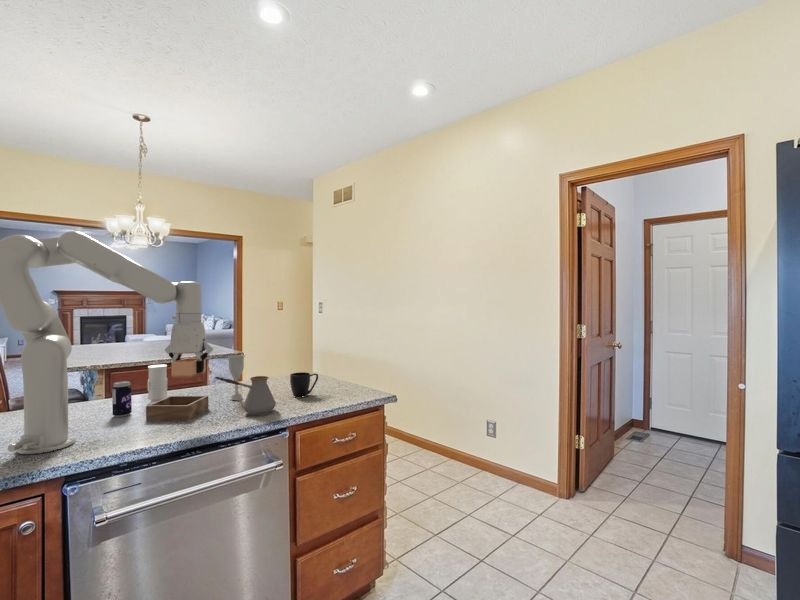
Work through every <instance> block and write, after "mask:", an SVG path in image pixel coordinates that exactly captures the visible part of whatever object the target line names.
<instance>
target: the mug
mask: <svg viewBox="0 0 800 600" xmlns="http://www.w3.org/2000/svg"><path fill="white" fill-rule="evenodd" d="M312 376H315V380H314V381H313V384H312V385H311V387H310V382H311V377H312ZM289 378H290V379H289V380H290V381H289V383H290V388H291V392H292V395H293V397H294V396H295V397H294V398H296V397H301V398H303V397H302V396H306V395H307V396H308V395H310V394H311V392H312V391H313V389H314V388H315V386H316V384H317V381H318V379H319V375H318V373H311V374H310V372H306V371H305V372H293V373H290V377H289ZM307 396H306V397H307Z"/></svg>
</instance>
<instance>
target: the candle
mask: <svg viewBox="0 0 800 600" xmlns="http://www.w3.org/2000/svg"><path fill="white" fill-rule="evenodd" d="M167 367H168V365H167V364H153V365H148V366H147V368H148V379H147V392H148V395H147V399H148V401H149V405H150V404H152V403H155V402H157V401H160V400H162V399H164V398H167V397H168V377H167V375H168V374H167Z"/></svg>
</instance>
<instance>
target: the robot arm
mask: <svg viewBox="0 0 800 600" xmlns="http://www.w3.org/2000/svg"><path fill="white" fill-rule="evenodd" d="M72 264H77V265H80V266H82V267H83V268H86V269H87V270H89V271H91V272H93V273H95V274H96V275H99V276H101V277H102V278H104V279H106V280H108V281H110V282H113V283H115V284H118V285H122V286H124V287H125V288H128V289H130V290H132V291H134V292H136V293H137V294H140V295H141V296H144V297H145V298H147V299H149V300H150V301H152V302H155V303H156V304H161V305H164V304H165V305H166V304H171V303H175V314H174V315H172V320H175V322H173V324H172V328H171V333H170V342H169V343H170V344H168V346H166V347H165V349H164V351H165V352H166V353H167V355H168V356H169V357H170V359H172V360H171V361H172V362H173V361H177V360H181V359H182V356H183V354H195V356H196V357H195V358H197V359H198V361H197V362H196V372H197V373H201V372H203V370H204V360H205V359H207V357H208V356H210V354H211V353H212V352H213V351H214V348H213V347H212V346H211V345H210V344H209V343H208V342H207V337H206V335H207V333H206V329H205V324H204V322H202V284H201V283H199V281H198V282H197V281H179V282H172V281H171V280H168V279H166V278H165V277H163V276H162V275H159V274H158V273H156V272H154V271H152V270H150V269H148V268H146V267H144V266H143V265H141V264H139V263H137V262H135V261H134V260H133V259H131V258H129V257H128V256H126V255H124V254H123V253H122V254H121V253H120V252H118V251H116V250H114V248H113V249H112V248H111V247H109V246H107V245H106V244H104V243H102V242H100V241H98V240H96V239H95V238H92V237H91V236H90V235H88V234H85V233H84V232H80V231H76V230H70V231H66V232H64V233H62V234H61V235H60V236H59V237H58V236H57V237H51V238H49V237H48V238H37V239H36V238H34V237H32V236H30V235H26V234H11V235H8V236H5V237H3V238H2V239H0V307H1V309H2V311H3V313H4V316H5V318H6V321H7V323H8V325H9V326H10V328H12V329H13V330H14V331H15V332H18V333H21V334H22V337H23V338H24V341H25V343H26V344H25V346H24V347H23V349H22V351H21V356H20V362H21V370H22V381H23V382H22V383H23V385H22V386H23V435H21V436H20V440H18V442H14V443H11V444H9V445H8V446H7V451H8V452H10V453H12V452H15V451H16V453H17V454H20V455H36V453H37V454H43V452H44V453H49V452H53V450H54V451H57V449H58V450H61V449H63V448H68V446H71V445H73V444H74V443H75V442H76V437H75V436H74V435H70V434H69V389H68V388H69V386H68V385H69V381H68V380H69V379H68V358H69V357H70V356H71V353H72V349H73V348H72V347H73V346H72V343H71V339H70V338H69V336H68V334H67V332H66V329H65V328H64V327H65V326H64V324H63V323H62V321H61V319H60V317H59V315H58V312H57V311H56V310H55V308H54V307H53V305H51V304H50V303H49V302H46V301H44V300H43V298H42V296H41V294H40V293H39V291H38V288H37V286H36V283H35V282H34V280H33V277H32V276H31V274H30V270H29V269H38V268H46V267H47V268H48V267H53V266H54V267H55V266H56V267H57V266H64V265H72Z"/></svg>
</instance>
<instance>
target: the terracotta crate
mask: <svg viewBox="0 0 800 600" xmlns="http://www.w3.org/2000/svg"><path fill="white" fill-rule="evenodd" d="M206 359H207V358H206ZM206 359H205V360H204V370H203V372H201V373H197V372H196V362H197V361H198V359H197V357H185V358H181V359H180V360H177V361H173V360H172V361H171V378H194V377H197V376H200V375H202V374H206V373H207V372H206V368H207V366H206V361H207V360H206Z"/></svg>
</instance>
